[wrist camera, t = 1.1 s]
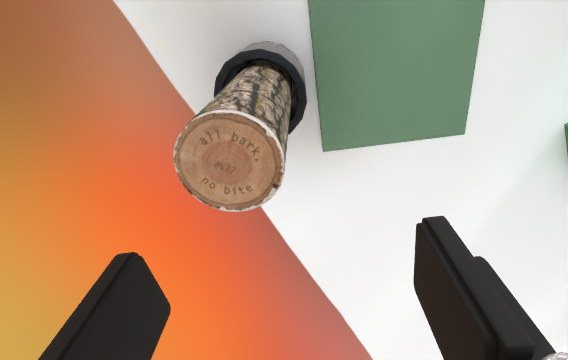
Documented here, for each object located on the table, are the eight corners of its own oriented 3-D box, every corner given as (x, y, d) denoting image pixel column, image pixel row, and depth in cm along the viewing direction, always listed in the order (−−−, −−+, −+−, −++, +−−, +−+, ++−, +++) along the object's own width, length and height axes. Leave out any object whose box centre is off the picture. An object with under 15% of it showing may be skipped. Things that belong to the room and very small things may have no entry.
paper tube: (252, 46, 37) (187, 91, 16) (300, 68, 38) (303, 140, 17) (236, 95, 40) (163, 189, 19) (281, 115, 42) (261, 225, 20)
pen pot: (222, 49, 38) (202, 58, 30) (299, 35, 36) (299, 41, 29) (240, 122, 42) (227, 147, 35) (308, 113, 41) (310, 136, 33)
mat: (307, -4, 34) (307, -4, 34) (488, -38, 32) (491, -39, 32) (323, 150, 44) (323, 151, 44) (462, 133, 42) (464, 134, 41)
